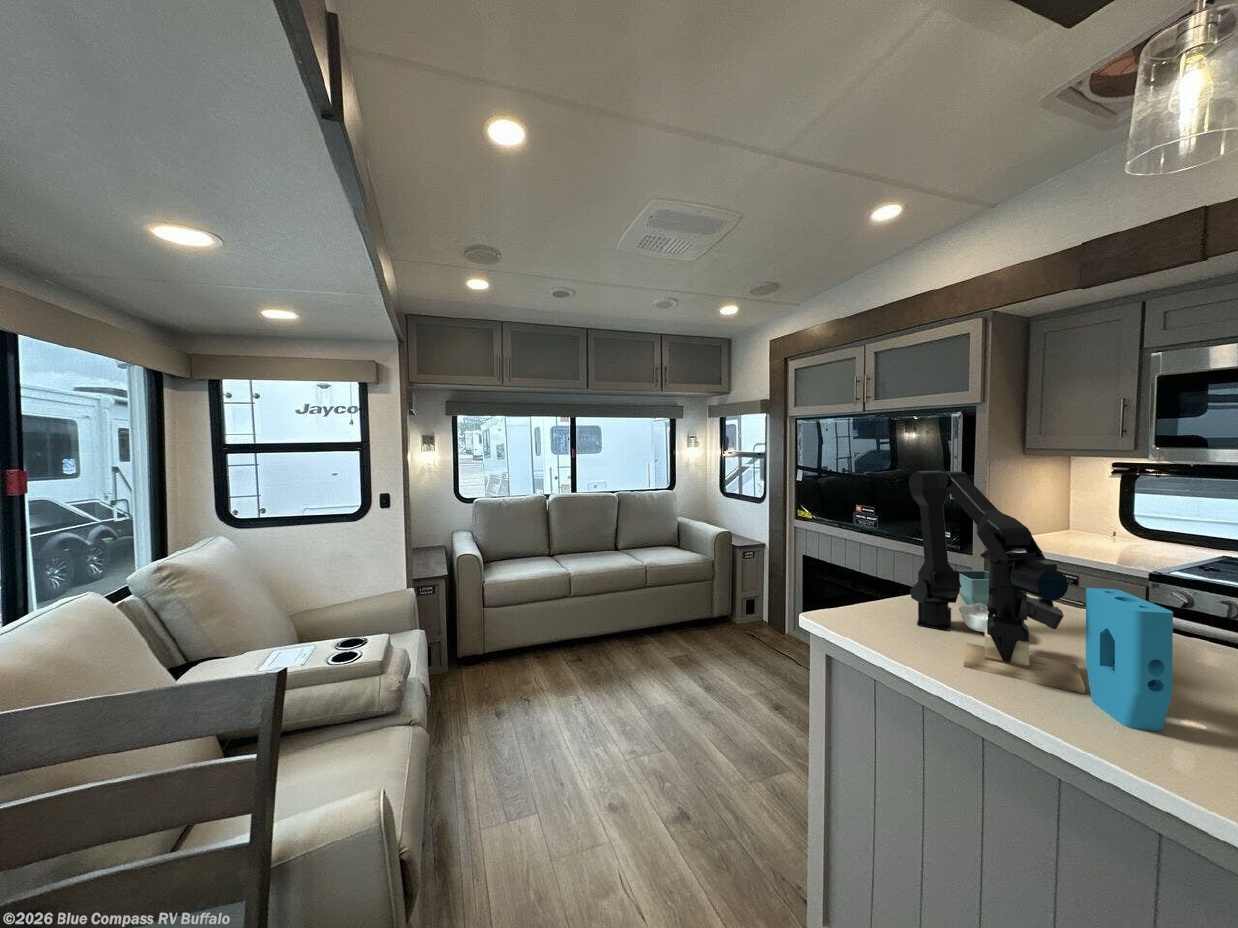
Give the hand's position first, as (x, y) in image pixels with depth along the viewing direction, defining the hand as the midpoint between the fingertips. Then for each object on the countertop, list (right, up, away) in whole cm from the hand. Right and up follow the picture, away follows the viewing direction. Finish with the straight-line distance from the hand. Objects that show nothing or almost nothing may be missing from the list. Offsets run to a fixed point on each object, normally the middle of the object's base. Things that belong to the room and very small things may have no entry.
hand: (1006, 657), depth 96 cm
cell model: (+9, -1, +16) cm, 18 cm away
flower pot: (+21, 0, +33) cm, 39 cm away
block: (+5, -3, -18) cm, 19 cm away
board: (+2, -2, -1) cm, 3 cm away
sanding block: (0, -1, 0) cm, 0 cm away
